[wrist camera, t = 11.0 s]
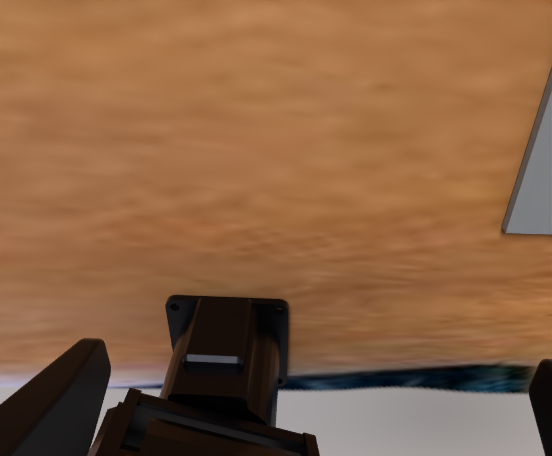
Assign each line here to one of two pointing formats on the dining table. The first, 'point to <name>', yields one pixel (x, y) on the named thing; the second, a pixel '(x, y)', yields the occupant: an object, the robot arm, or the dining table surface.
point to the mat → (534, 178)
